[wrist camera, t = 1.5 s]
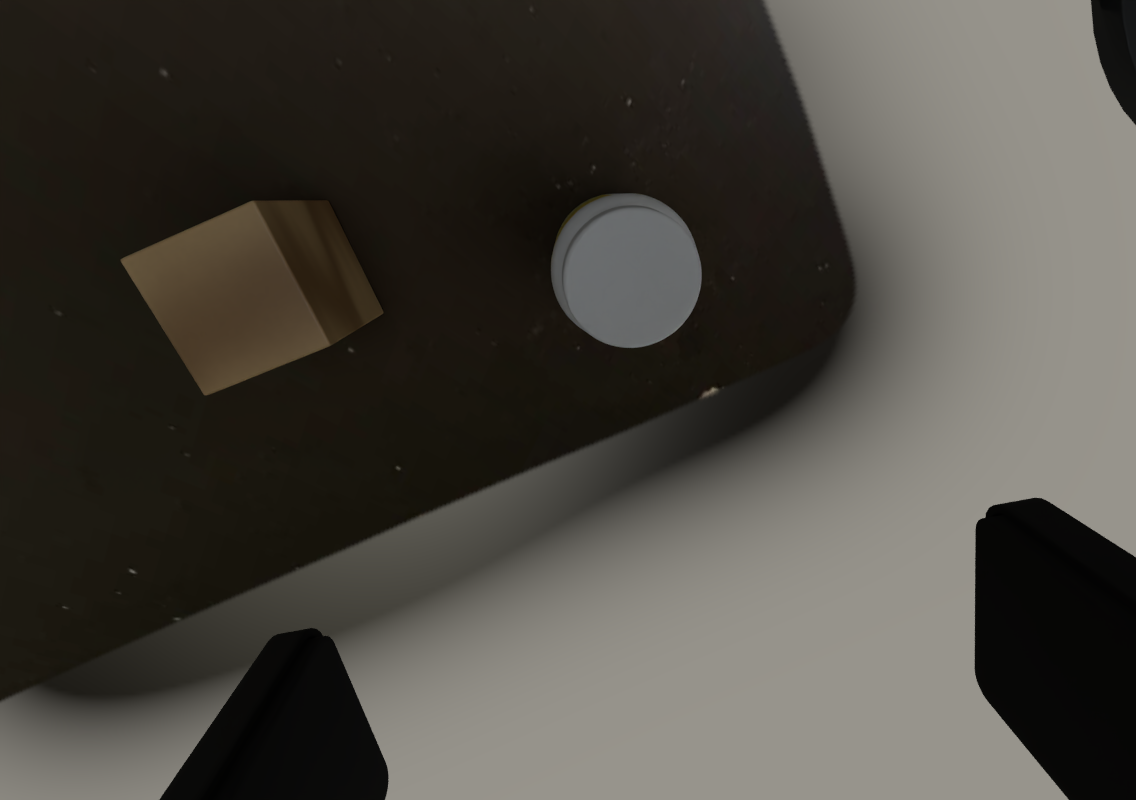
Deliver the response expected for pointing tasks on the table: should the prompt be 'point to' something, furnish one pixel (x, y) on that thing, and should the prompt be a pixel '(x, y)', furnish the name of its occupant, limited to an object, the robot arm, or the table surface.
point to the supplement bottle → (626, 269)
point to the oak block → (254, 289)
